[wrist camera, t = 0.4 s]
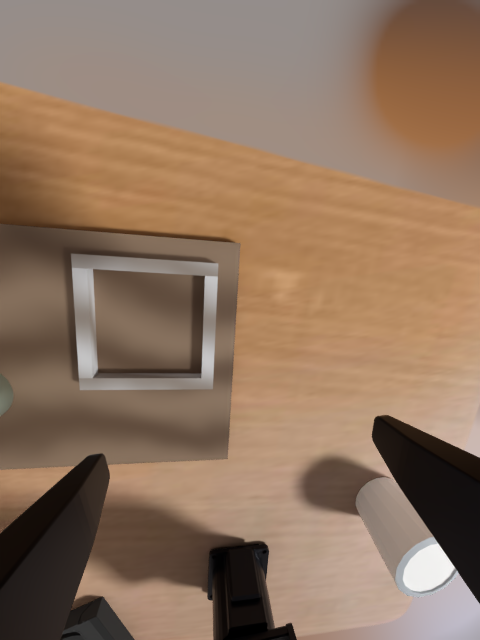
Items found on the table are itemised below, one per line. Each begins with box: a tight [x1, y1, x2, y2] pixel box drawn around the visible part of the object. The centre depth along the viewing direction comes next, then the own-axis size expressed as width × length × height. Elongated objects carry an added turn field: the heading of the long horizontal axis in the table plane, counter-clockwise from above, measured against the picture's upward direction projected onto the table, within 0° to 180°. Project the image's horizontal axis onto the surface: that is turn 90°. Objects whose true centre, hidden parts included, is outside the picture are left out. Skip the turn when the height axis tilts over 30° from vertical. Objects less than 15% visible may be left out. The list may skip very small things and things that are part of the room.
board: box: [0, 224, 240, 470], centre depth 20 cm, size 20×24×2 cm
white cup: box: [355, 477, 458, 597], centre depth 25 cm, size 7×7×7 cm
